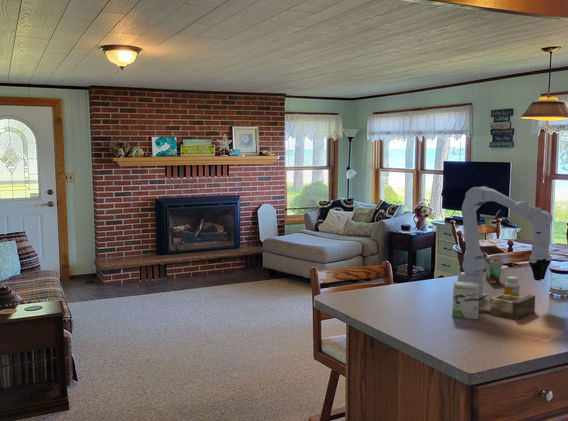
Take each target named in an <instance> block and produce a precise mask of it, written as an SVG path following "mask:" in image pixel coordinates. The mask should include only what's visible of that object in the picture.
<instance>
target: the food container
mask: <svg viewBox="0 0 568 421" xmlns="http://www.w3.org/2000/svg"><path fill="white" fill-rule="evenodd" d="M485 260H486V263H487V266H486V268H485V280H486V281H487V282H488V284H491V285H493V284H494V285H495V284H500V282H501V281H500V279H501V272H502V271H501V270H502V267H504V265H503V261H502V259H497V258H491V257H490V258H489V257H486V258H485Z"/></svg>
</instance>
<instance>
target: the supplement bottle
mask: <svg viewBox="0 0 568 421" xmlns="http://www.w3.org/2000/svg"><path fill="white" fill-rule="evenodd" d="M518 281H519V278H518V276H510V275H509V276H507V277H506V282H505V283H504V292H503V294H504V295H510V296H516V297H520V286H521V285H520V283H518Z"/></svg>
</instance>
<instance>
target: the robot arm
mask: <svg viewBox="0 0 568 421" xmlns="http://www.w3.org/2000/svg"><path fill="white" fill-rule="evenodd" d="M487 202H495V203H497V204H500V205H502V206H503V207H507V208H509V209H511V210H512V212H513V213H514V215H516V216H517V217H519V218H522V219H524V220H526V221H527V222H529V223H530V224H531V225H532V243H531V244H532V245H531V255H530V256H529V260H528V264H529V266H530V268H531V271H532V276H533V280H534V281H541V280H544V279H545V278H546V273H547V271H548V268H549V266H550V265H551V262H552V261H551V260H550V259H553V256H551V253H550V239H551V238H550V234H551V233H550V232H551V231H550V229H551V226H550V225H551V224H552V222H553V215H552V214H551V213H550V212H549V211H548V210H545V209H544V210H541V207H537V206H534V205H532V204H530V202H529V201H527V200H524V201H523V200H521V201H516V200H514V199H512V198H511V197H509V196H507V195H505V194H503V193H501V192H500V191H497V190H496V189H494V188H492V187H491V188H490V187H488V186H485V185H483V186H479V187H478V186H473V187H471V188H470V189H468V190H467V191H466V193H465V197H464V200H463V202H462V205H461V215H462V222H463V224H462V225H463V234H464V242H465V253H464V254H463V261H462V266H461V267H462V270H463V271H462V272H460V273H459V275H458V277H457V281H460V282H472V283H478V284H479V299H480V298H482V297H486V296H488V294H487V293H485V292H484V281H485V280H484V278H485V277H484V276H485V274H484V273H485V272H484V271H485V270H486V266H487V263H486V258H485V257H484V256H485V255H484V252H483V251H482V250H481V244H480V237H479V236H480V235H479V227H478V219H477V210H478V209H479V208H481V206H482V205H483V204H486V203H487Z"/></svg>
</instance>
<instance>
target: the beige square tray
mask: <svg viewBox="0 0 568 421" xmlns="http://www.w3.org/2000/svg"><path fill="white" fill-rule="evenodd" d="M521 298H522V297H521V296H519V297H516V296H510V295H504V293H500V294H498V295H494V296H492V297H490V299H489V301H490V309H492V310H497V311H502V312H507V313H512V314H513V302H514V301H516V300H518V299H521Z"/></svg>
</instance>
